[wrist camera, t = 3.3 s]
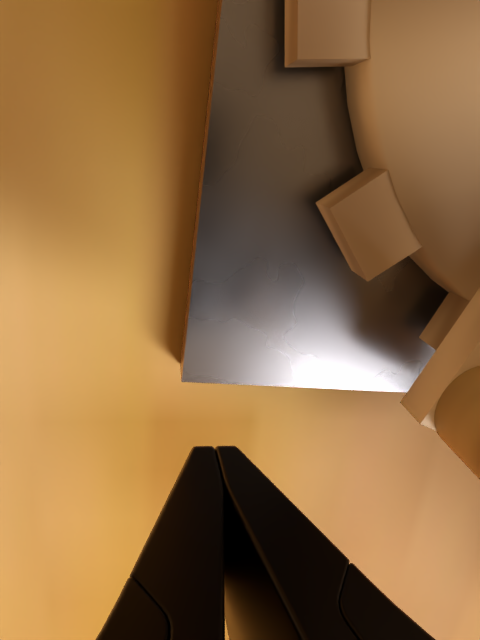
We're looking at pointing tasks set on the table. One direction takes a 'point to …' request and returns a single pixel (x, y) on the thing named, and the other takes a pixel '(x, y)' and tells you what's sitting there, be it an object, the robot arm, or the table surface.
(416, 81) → the index wheel
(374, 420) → the table surface
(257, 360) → the base plate
